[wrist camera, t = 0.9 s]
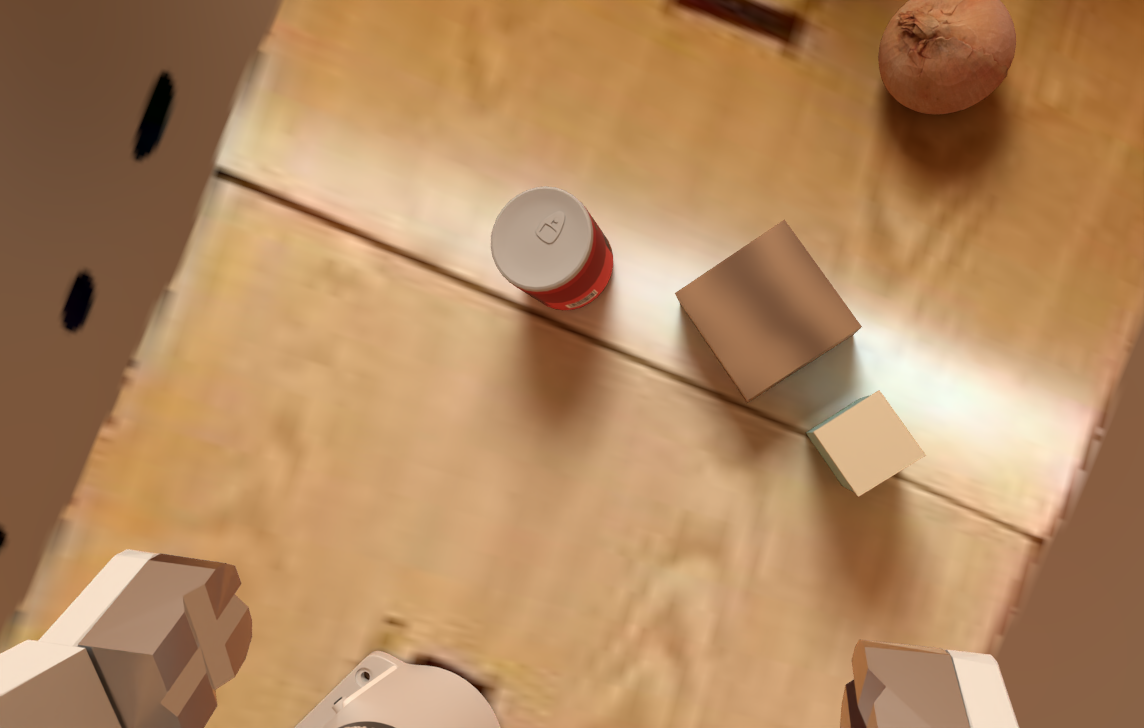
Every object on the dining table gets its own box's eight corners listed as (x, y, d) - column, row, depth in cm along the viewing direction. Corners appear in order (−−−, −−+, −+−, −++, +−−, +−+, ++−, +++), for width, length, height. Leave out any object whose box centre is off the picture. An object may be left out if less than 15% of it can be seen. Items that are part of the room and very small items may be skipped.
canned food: (628, 239, 72) (608, 204, 61) (593, 325, 72) (566, 306, 61) (548, 209, 73) (514, 170, 63) (513, 293, 73) (473, 269, 63)
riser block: (747, 403, 69) (747, 400, 64) (679, 303, 70) (674, 293, 65) (853, 334, 67) (861, 326, 62) (781, 234, 69) (784, 219, 64)
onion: (879, 103, 71) (834, 62, 64) (946, -3, 68) (908, -59, 61) (978, 150, 66) (943, 112, 58) (1055, 37, 63) (1029, -19, 55)
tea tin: (841, 487, 67) (858, 496, 57) (803, 432, 68) (813, 431, 58) (899, 452, 66) (925, 455, 56) (859, 396, 67) (879, 390, 57)
